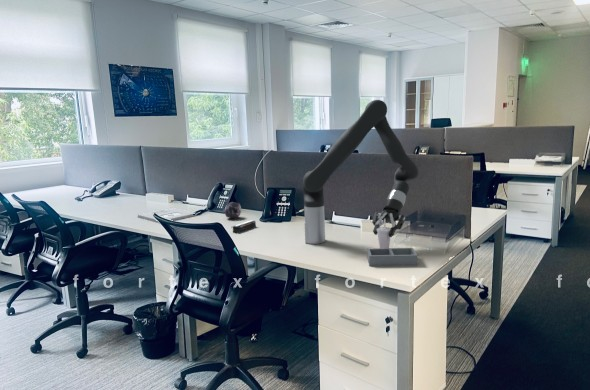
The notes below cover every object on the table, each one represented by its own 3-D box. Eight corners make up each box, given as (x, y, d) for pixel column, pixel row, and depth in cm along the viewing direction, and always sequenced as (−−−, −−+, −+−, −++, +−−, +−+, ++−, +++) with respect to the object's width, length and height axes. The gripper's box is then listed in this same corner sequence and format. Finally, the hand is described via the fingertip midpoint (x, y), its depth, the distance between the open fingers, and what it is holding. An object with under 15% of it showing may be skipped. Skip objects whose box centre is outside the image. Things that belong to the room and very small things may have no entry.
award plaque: (172, 210, 288) (172, 207, 287) (197, 216, 267) (196, 213, 267) (137, 217, 270) (137, 214, 270) (161, 224, 250) (160, 220, 249)
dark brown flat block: (222, 234, 223) (222, 226, 222) (253, 223, 243) (253, 216, 242) (243, 237, 214) (242, 229, 214) (273, 226, 234) (273, 218, 234)
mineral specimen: (235, 220, 248) (234, 204, 246) (221, 219, 253) (220, 203, 252) (245, 217, 256) (244, 201, 255) (231, 215, 262) (230, 200, 260)
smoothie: (394, 250, 182) (394, 218, 179) (387, 254, 177) (386, 221, 174) (381, 247, 186) (381, 216, 183) (373, 251, 181) (373, 219, 179)
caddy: (369, 266, 164) (369, 256, 163) (367, 258, 173) (367, 248, 172) (417, 265, 162) (417, 255, 161) (412, 257, 171) (412, 247, 171)
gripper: (377, 196, 188) (364, 228, 181) (407, 199, 179) (395, 232, 172) (383, 205, 193) (370, 237, 186) (413, 209, 183) (401, 242, 177)
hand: (382, 234), depth 179 cm, fingers closed on smoothie, 6 cm apart
